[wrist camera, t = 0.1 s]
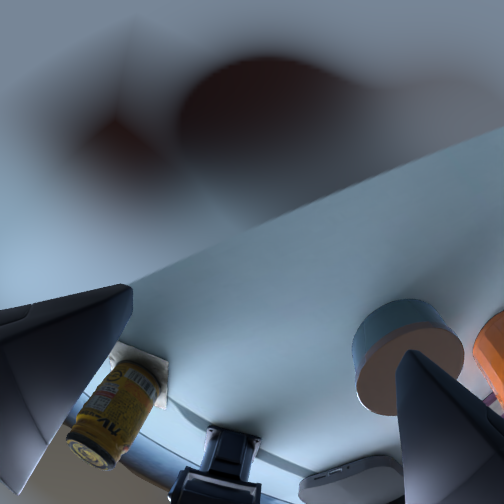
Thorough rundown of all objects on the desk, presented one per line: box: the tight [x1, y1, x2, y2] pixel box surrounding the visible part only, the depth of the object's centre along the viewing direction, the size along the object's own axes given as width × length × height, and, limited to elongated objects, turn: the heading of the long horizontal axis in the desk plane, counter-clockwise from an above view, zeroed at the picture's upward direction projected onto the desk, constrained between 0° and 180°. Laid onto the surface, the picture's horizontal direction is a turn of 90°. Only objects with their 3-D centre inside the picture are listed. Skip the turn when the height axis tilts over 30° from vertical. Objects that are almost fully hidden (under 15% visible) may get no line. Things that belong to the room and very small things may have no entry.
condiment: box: [66, 341, 169, 471], centre depth 25 cm, size 7×8×12 cm
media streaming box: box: [298, 456, 405, 504], centre depth 31 cm, size 15×15×3 cm
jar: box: [352, 299, 464, 416], centre depth 22 cm, size 9×9×5 cm
